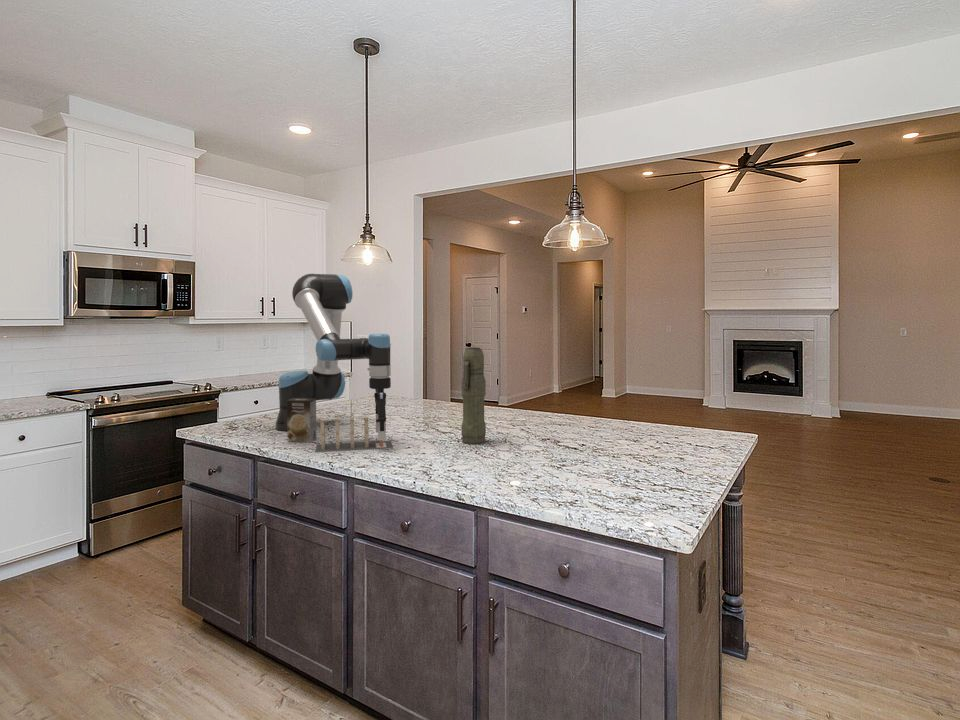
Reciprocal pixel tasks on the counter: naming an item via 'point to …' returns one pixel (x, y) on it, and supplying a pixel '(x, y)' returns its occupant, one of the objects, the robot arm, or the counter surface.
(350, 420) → the domino
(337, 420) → the domino
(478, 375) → the thermos
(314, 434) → the coffee box
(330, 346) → the robot arm
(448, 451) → the counter surface
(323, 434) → the domino
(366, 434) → the domino
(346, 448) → the mat
